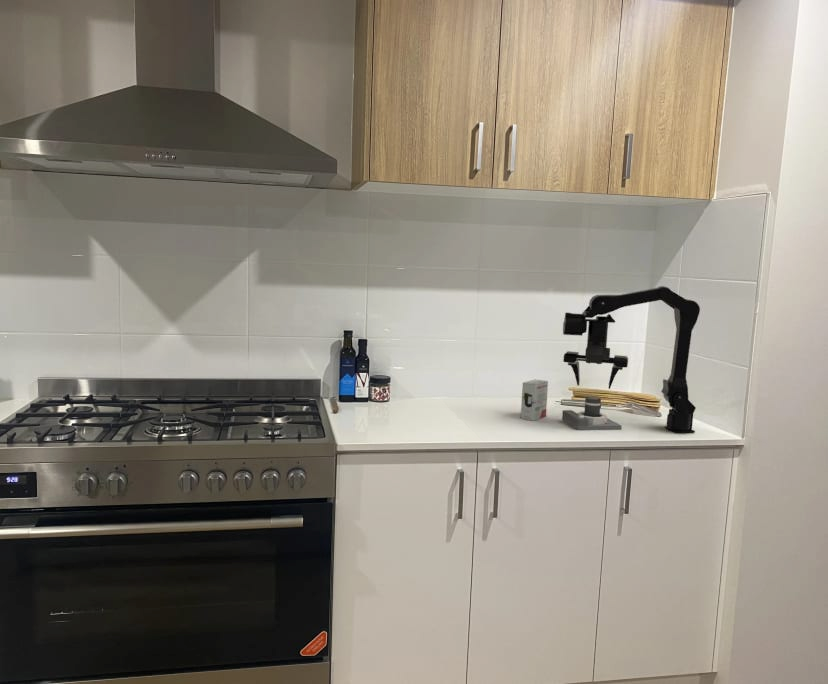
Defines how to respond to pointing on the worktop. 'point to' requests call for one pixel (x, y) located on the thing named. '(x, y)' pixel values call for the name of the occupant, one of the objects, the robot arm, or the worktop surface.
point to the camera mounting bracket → (589, 421)
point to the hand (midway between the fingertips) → (593, 387)
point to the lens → (592, 407)
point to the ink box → (534, 399)
